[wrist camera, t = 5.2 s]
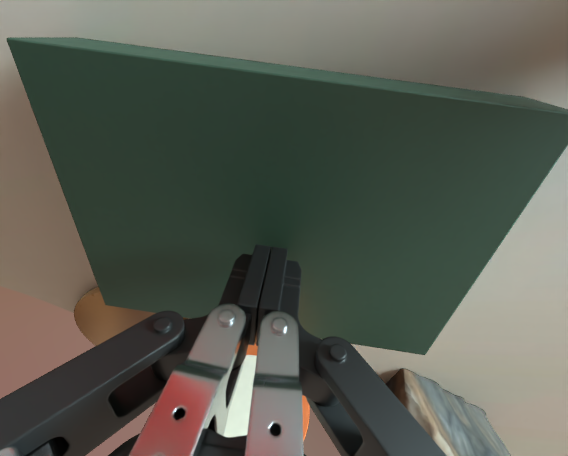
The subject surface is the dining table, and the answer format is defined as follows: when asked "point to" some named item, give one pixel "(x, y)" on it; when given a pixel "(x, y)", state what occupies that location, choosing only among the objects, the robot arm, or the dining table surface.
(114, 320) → the coaster
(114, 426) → the robot arm
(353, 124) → the book
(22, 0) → the dining table surface
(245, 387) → the tumbler
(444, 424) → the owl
